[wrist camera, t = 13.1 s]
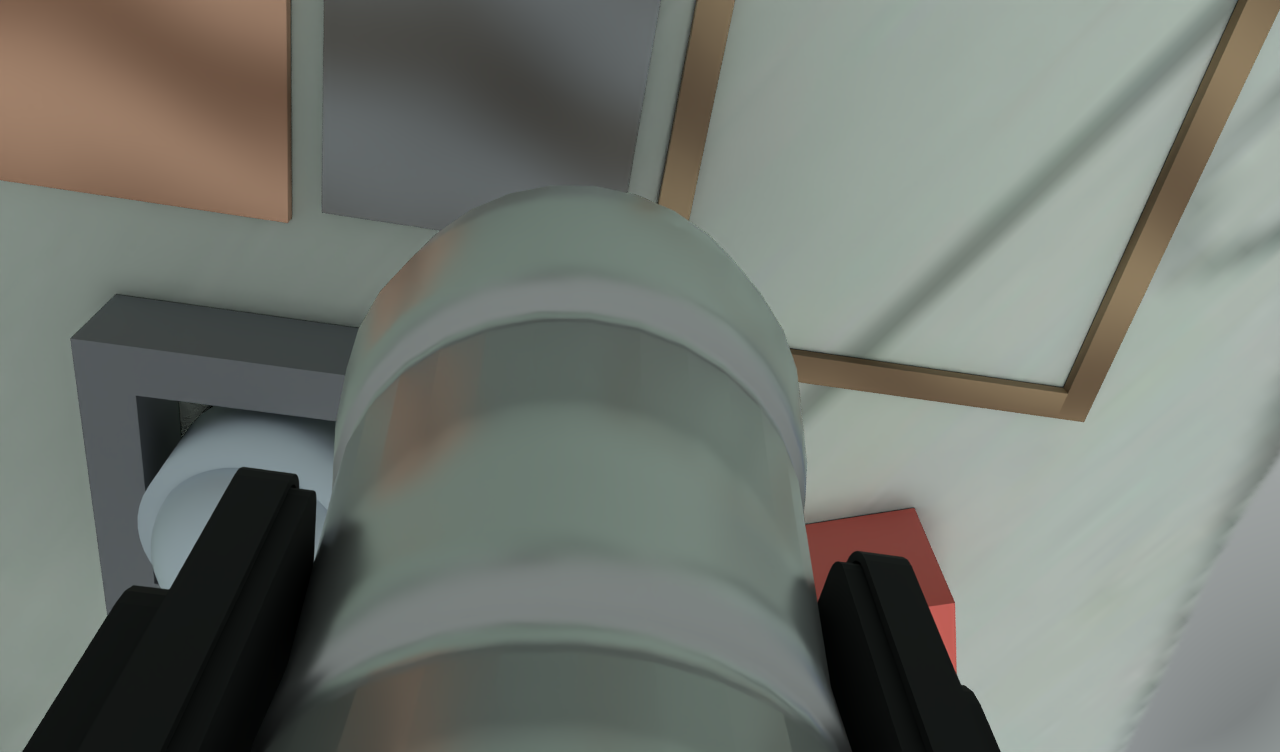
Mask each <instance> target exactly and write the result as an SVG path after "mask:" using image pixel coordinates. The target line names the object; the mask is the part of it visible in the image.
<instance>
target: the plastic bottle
mask: <svg viewBox="0 0 1280 752" xmlns="http://www.w3.org/2000/svg"><path fill="white" fill-rule="evenodd" d="M806 472H807V459H806V449H805V439H804V429H803V419H802V409H801V401H800V392H799V383H798V375H797V368H796V365H795V362H794V359H793V357H792V354H791V351H790V348H789V345H788V342H787V339H786V337H785V334H784V331H783V329H782V327H781V325H780V324H779V322H778V321H777V319H776V317H775V316H774V314H773V313H772V311H771V309H770V308H769V306H768V305H767V303H766V301H765V300H764V298H763V297H762V295H761V293H760V292H759V291H758V289H757V288H756V287H755V286H754V285H753V283H752V282H751V281H750V280H749V278H748V277H747V276H746V275H745V273H744V272H743V271H742V270H741V269H740V267H739V266H738V265H737V264H736V262H735V261H734V260H733V259H732V258H731V257H730V256H729V255H728V254H727V253H726V252H725V251H724V250H723V249H722V248H721V247H720V246H719V245H718V244H717V243H716V242H715V241H714V240H713V239H712V238H711V237H710V235H709V234H707V233H706V232H704V231H703V230H701V229H700V228H699V227H697V226H696V225H694V224H693V223H691V222H690V221H688V220H687V219H685V218H684V217H682V216H681V215H680V214H678V213H677V212H675V211H673V210H671V209H669V208H666V207H664V206H662V205H659V204H657V203H654V202H652V201H650V200H647V199H645V198H643V197H640V196H638V195H636V194H631V193H626V192H621V191H616V190H611V189H606V188H602V187H597V186H546V187H541V188H536V189H531V190H526V191H520V192H515V193H510V194H507V195H505V196H502V197H500V198H498V199H495V200H493V201H490V202H488V203H486V204H483V205H481V206H478V207H476V208H474V209H471V210H470V211H468V212H467V213H465V214H464V215H462V216H461V217H460V218H458V219H457V220H455V221H454V222H452V223H451V224H449V225H448V226H447V227H445V228H444V229H442V230H441V231H439V232H438V233H437V234H436V235H435V236H434V237H433V238H432V239H431V240H429V241H428V242H427V243H426V244H425V245H424V246H423V247H422V248H421V249H420V250H419V251H418V252H417V253H416V254H415V255H414V256H413V257H412V258H411V259H410V260H409V261H408V262H407V263H406V264H405V265H404V266H403V267H402V269H401V270H400V271H399V272H398V273H397V274H396V275H395V276H394V277H393V278H392V279H391V280H390V281H389V283H388V284H387V285H386V286H385V287H384V288H383V289H382V290H381V291H380V293H379V294H378V296H377V298H376V300H375V301H374V303H373V305H372V306H371V308H370V310H369V312H368V313H367V315H366V317H365V319H364V320H363V322H362V324H361V326H360V327H359V329H358V332H357V336H356V339H355V342H354V345H353V349H352V352H351V355H350V359H349V362H348V365H347V369H346V374H345V379H344V384H343V389H342V394H341V399H340V404H339V409H338V414H337V419H336V424H335V441H334V459H333V479H332V494H331V498H330V502H329V506H328V510H327V513H326V517H325V521H324V525H323V529H322V533H321V537H320V541H319V544H318V548H317V552H316V556H315V560H314V564H313V568H312V571H311V575H310V579H309V583H308V587H307V591H306V595H305V599H304V602H303V606H302V610H301V614H300V618H299V622H298V626H297V629H296V633H295V637H294V641H293V645H292V649H291V653H290V656H289V660H288V664H287V668H286V670H285V672H284V674H283V677H282V679H281V681H280V683H279V686H278V688H277V690H276V692H275V695H274V697H273V699H272V701H271V704H270V706H269V708H268V710H267V713H266V715H265V717H264V719H263V722H262V724H261V726H260V728H259V731H258V733H257V735H256V737H255V740H254V742H253V746H252V749H251V752H852V750H851V747H850V744H849V741H848V738H847V734H846V731H845V728H844V725H843V722H842V719H841V716H840V713H839V710H838V707H837V704H836V701H835V698H834V695H833V692H832V689H831V685H830V678H829V672H828V666H827V660H826V653H825V647H824V641H823V634H822V628H821V622H820V615H819V609H818V603H817V596H816V590H815V584H814V577H813V571H812V565H811V558H810V552H809V546H808V539H807V533H806V527H805V520H804V506H805V495H806Z"/></svg>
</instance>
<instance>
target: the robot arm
mask: <svg viewBox="0 0 1280 752" xmlns="http://www.w3.org/2000/svg"><path fill="white" fill-rule="evenodd" d="M316 504H317V496H316V492H315V491H314V490H307V489H299V478H298V475H296V474H293V473H286V472H279V471H271V470H264V469H257V468H249V467H241V468H239V469H238V470H237V472H236V473H235V474H234V476H233V478H232V480H231V482H230V483H229V485H228V487H227V489H226V490H225V492H224V494H223V496H222V497H221V499H220V501H219V503H218V504H217V506H216V508H215V510H214V512H213V513H212V515H211V517H210V519H209V520H208V522H207V524H206V526H205V527H204V529H203V531H202V533H201V534H200V536H199V538H198V540H197V542H196V543H195V545H194V547H193V549H192V550H191V552H190V554H189V556H188V557H187V559H186V561H185V563H184V564H183V566H182V568H181V570H180V571H179V573H178V575H177V577H176V579H175V580H174V582H173V584H172V586H171V587H170V589H162V588H153V587H145V586H137V585H133V586H131V587H130V588H128V589H127V590H125V591H124V592H123V594H122V595H121V596H120V598H119V599H118V600H117V602H116V603H115V605H114V606H113V608H112V609H111V611H110V613H109V614H108V616H107V617H106V619H105V621H104V622H103V624H102V625H101V627H100V629H99V630H98V632H97V633H96V635H95V636H94V638H93V640H92V641H91V643H90V644H89V646H88V648H87V649H86V651H85V652H84V654H83V656H82V657H81V659H80V660H79V662H78V664H77V665H76V667H75V668H74V670H73V672H72V673H71V675H70V676H69V678H68V680H67V681H66V683H65V684H64V686H63V688H62V689H61V691H60V692H59V694H58V696H57V697H56V699H55V700H54V702H53V704H52V705H51V707H50V708H49V710H48V712H47V713H46V715H45V716H44V718H43V720H42V721H41V723H40V724H39V726H38V728H37V729H36V731H35V732H34V734H33V736H32V737H31V739H30V740H29V742H28V744H27V745H26V747H25V748H24V750H23V751H22V752H251V749H252V746H253V742H254V740H255V737H256V735H257V733H258V731H259V728H260V726H261V724H262V722H263V719H264V717H265V715H266V713H267V710H268V708H269V706H270V704H271V701H272V699H273V697H274V695H275V692H276V690H277V688H278V686H279V683H280V681H281V679H282V677H283V674H284V672H285V670H286V668H287V664H288V660H289V656H290V653H291V649H292V645H293V641H294V637H295V633H296V629H297V626H298V622H299V618H300V614H301V610H302V606H303V602H304V599H305V595H306V591H307V587H308V583H309V579H310V575H311V571H312V568H313V564H314V550H315V527H316ZM818 609H819V615H820V622H821V628H822V634H823V641H824V647H825V653H826V660H827V666H828V672H829V678H830V685H831V689H832V692H833V695H834V698H835V701H836V704H837V707H838V710H839V713H840V716H841V719H842V722H843V725H844V728H845V731H846V734H847V738H848V741H849V744H850V747H851V750H852V752H1000V749H999V747H998V745H997V742H996V740H995V737H994V735H993V733H992V730H991V728H990V726H989V723H988V721H987V719H986V716H985V714H984V712H983V709H982V707H981V705H980V703H979V701H978V700H977V698H976V696H975V694H974V693H973V692H972V691H971V690H970V689H969V688H967V687H966V686H965V685H961V684H960V681H959V679H958V676H957V674H956V672H955V669H954V667H953V664H952V662H951V660H950V657H949V655H948V652H947V650H946V648H945V645H944V643H943V640H942V638H941V635H940V633H939V631H938V628H937V626H936V623H935V621H934V619H933V616H932V614H931V611H930V609H929V606H928V604H927V602H926V599H925V597H924V594H923V592H922V590H921V587H920V585H919V582H918V580H917V577H916V575H915V573H914V570H913V568H912V566H911V564H910V562H909V561H908V560H907V559H906V558H904V557H900V556H893V555H885V554H878V553H871V552H863V551H855V552H853V553H852V554H851V555H850V556H849V558H848V560H847V562H840V561H837V562H835V563H834V564H833V565H832V567H831V569H830V571H829V573H828V576H827V579H826V581H825V584H824V587H823V589H822V592H821V595H820V597H819V600H818Z"/></svg>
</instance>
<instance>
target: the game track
mask: <svg viewBox="0 0 1280 752" xmlns="http://www.w3.org/2000/svg"><path fill="white" fill-rule="evenodd" d="M660 2H661V0H324V49H323V143H322V213H328V214H334V215H341V216H347V217H354V218H361V219H367V220H374V221H381V222H387V223H394V224H401V225H407V226H414V227H420V228H427V229H434V230H440V231H441V230H442V229H444V228H445V227H447V226H448V225H449V224H451V223H452V222H454V221H455V220H457V219H458V218H460V217H461V216H462V215H464V214H465V213H467V212H468V211H470V210H471V209H474V208H476V207H478V206H481V205H483V204H486V203H488V202H490V201H493V200H495V199H498V198H500V197H502V196H505V195H507V194H510V193H515V192H520V191H526V190H531V189H536V188H541V187H546V186H597V187H602V188H606V189H611V190H616V191H621V192H626V193H627V192H628V187H629V181H630V175H631V169H632V164H633V158H634V152H635V146H636V141H637V135H638V129H639V123H640V117H641V112H642V106H643V100H644V94H645V89H646V83H647V77H648V71H649V65H650V60H651V54H652V48H653V42H654V37H655V31H656V25H657V19H658V13H659V8H660ZM734 3H735V0H696V5H695V10H694V15H693V21H692V26H691V31H690V36H689V42H688V47H687V52H686V57H685V63H684V68H683V73H682V78H681V84H680V89H679V94H678V99H677V105H676V110H675V115H674V120H673V126H672V131H671V136H670V141H669V147H668V152H667V157H666V162H665V168H664V173H663V178H662V184H661V189H660V194H659V199H658V204H659V205H662V206H664V207H666V208H669V209H671V210H673V211H675V212H677V213H678V214H680V215H681V216H682V217H684V218H685V219H687V220H688V221H689V218H690V213H691V208H692V203H693V199H694V194H695V189H696V184H697V180H698V175H699V170H700V165H701V160H702V156H703V151H704V146H705V141H706V136H707V132H708V127H709V122H710V117H711V113H712V108H713V103H714V98H715V93H716V89H717V84H718V79H719V74H720V69H721V65H722V60H723V55H724V50H725V46H726V41H727V36H728V31H729V26H730V22H731V17H732V12H733V7H734ZM1279 9H1280V0H1238V3H1237V5H1236V7H1235V9H1234V11H1233V14H1232V16H1231V18H1230V20H1229V23H1228V25H1227V27H1226V29H1225V31H1224V34H1223V36H1222V38H1221V40H1220V42H1219V45H1218V47H1217V49H1216V51H1215V53H1214V56H1213V58H1212V60H1211V62H1210V65H1209V67H1208V69H1207V71H1206V73H1205V76H1204V78H1203V80H1202V82H1201V84H1200V87H1199V89H1198V91H1197V93H1196V96H1195V98H1194V100H1193V102H1192V104H1191V107H1190V109H1189V111H1188V113H1187V115H1186V118H1185V120H1184V122H1183V124H1182V126H1181V129H1180V131H1179V133H1178V135H1177V138H1176V140H1175V142H1174V144H1173V146H1172V149H1171V151H1170V153H1169V155H1168V157H1167V160H1166V162H1165V164H1164V166H1163V169H1162V171H1161V173H1160V175H1159V177H1158V180H1157V182H1156V184H1155V186H1154V188H1153V191H1152V193H1151V195H1150V197H1149V199H1148V202H1147V204H1146V206H1145V208H1144V211H1143V213H1142V215H1141V217H1140V219H1139V222H1138V224H1137V226H1136V228H1135V230H1134V233H1133V235H1132V237H1131V239H1130V242H1129V244H1128V246H1127V248H1126V250H1125V253H1124V255H1123V257H1122V259H1121V261H1120V264H1119V266H1118V268H1117V270H1116V272H1115V275H1114V277H1113V279H1112V281H1111V284H1110V286H1109V288H1108V290H1107V292H1106V295H1105V297H1104V299H1103V301H1102V303H1101V306H1100V308H1099V310H1098V312H1097V315H1096V317H1095V319H1094V321H1093V323H1092V326H1091V328H1090V330H1089V332H1088V334H1087V337H1086V339H1085V341H1084V343H1083V345H1082V348H1081V350H1080V352H1079V354H1078V357H1077V359H1076V361H1075V363H1074V365H1073V368H1072V370H1071V372H1070V374H1069V376H1068V379H1067V381H1066V383H1065V385H1064V388H1061V387H1054V386H1047V385H1040V384H1033V383H1026V382H1019V381H1012V380H1005V379H998V378H991V377H984V376H977V375H970V374H963V373H956V372H949V371H942V370H935V369H928V368H921V367H914V366H908V365H901V364H894V363H887V362H880V361H873V360H866V359H859V358H852V357H845V356H838V355H831V354H824V353H817V352H810V351H803V350H796V349H790V351H791V354H792V357H793V359H794V362H795V365H796V368H797V375H798V382H801V383H808V384H815V385H823V386H830V387H837V388H844V389H851V390H858V391H865V392H873V393H880V394H887V395H894V396H901V397H908V398H915V399H923V400H930V401H937V402H944V403H951V404H958V405H965V406H973V407H980V408H987V409H994V410H1001V411H1008V412H1015V413H1023V414H1030V415H1037V416H1044V417H1051V418H1058V419H1065V420H1073V421H1080V422H1084V421H1085V419H1086V417H1087V415H1088V412H1089V410H1090V408H1091V406H1092V404H1093V402H1094V400H1095V398H1096V396H1097V393H1098V391H1099V389H1100V387H1101V385H1102V383H1103V381H1104V379H1105V377H1106V374H1107V372H1108V370H1109V368H1110V366H1111V364H1112V362H1113V360H1114V358H1115V356H1116V353H1117V351H1118V349H1119V347H1120V345H1121V343H1122V341H1123V339H1124V337H1125V334H1126V332H1127V330H1128V328H1129V326H1130V324H1131V322H1132V320H1133V318H1134V315H1135V313H1136V311H1137V309H1138V307H1139V305H1140V303H1141V301H1142V299H1143V296H1144V294H1145V292H1146V290H1147V288H1148V286H1149V284H1150V282H1151V280H1152V277H1153V275H1154V273H1155V271H1156V269H1157V267H1158V265H1159V263H1160V261H1161V258H1162V256H1163V254H1164V252H1165V250H1166V248H1167V246H1168V244H1169V242H1170V239H1171V237H1172V235H1173V233H1174V231H1175V229H1176V227H1177V225H1178V223H1179V220H1180V218H1181V216H1182V214H1183V212H1184V210H1185V208H1186V206H1187V204H1188V201H1189V199H1190V197H1191V195H1192V193H1193V191H1194V189H1195V187H1196V185H1197V182H1198V180H1199V178H1200V176H1201V174H1202V172H1203V170H1204V168H1205V166H1206V163H1207V161H1208V159H1209V157H1210V155H1211V153H1212V151H1213V149H1214V147H1215V144H1216V142H1217V140H1218V138H1219V136H1220V134H1221V132H1222V130H1223V128H1224V125H1225V123H1226V121H1227V119H1228V117H1229V115H1230V113H1231V111H1232V109H1233V107H1234V104H1235V102H1236V100H1237V98H1238V96H1239V94H1240V92H1241V90H1242V88H1243V85H1244V83H1245V81H1246V79H1247V77H1248V75H1249V73H1250V71H1251V69H1252V66H1253V64H1254V62H1255V60H1256V58H1257V56H1258V54H1259V52H1260V50H1261V47H1262V45H1263V43H1264V41H1265V39H1266V37H1267V35H1268V33H1269V31H1270V28H1271V26H1272V24H1273V22H1274V20H1275V18H1276V16H1277V14H1278V12H1279ZM0 180H3V181H10V182H17V183H23V184H30V185H37V186H43V187H50V188H57V189H63V190H70V191H77V192H84V193H90V194H97V195H104V196H110V197H117V198H124V199H130V200H137V201H144V202H151V203H157V204H164V205H171V206H177V207H184V208H191V209H198V210H204V211H211V212H218V213H224V214H231V215H238V216H244V217H251V218H258V219H265V220H271V221H278V222H285V223H288V222H289V221H290V220H291V219H292V171H291V0H0Z"/></svg>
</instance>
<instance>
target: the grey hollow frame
mask: <svg viewBox="0 0 1280 752" xmlns="http://www.w3.org/2000/svg"><path fill="white" fill-rule="evenodd" d="M358 329H359V328H354V327H347V326H339V325H332V324H325V323H318V322H311V321H304V320H296V319H289V318H282V317H275V316H268V315H260V314H253V313H246V312H239V311H232V310H225V309H217V308H210V307H203V306H196V305H189V304H181V303H174V302H167V301H160V300H153V299H146V298H138V297H131V296H124V295H117V294H116V295H115V296H114V297H113V298H112V299H110V300H109V301H108V302H107V303H106V304H105V305H104V306H103V307H102V308H101V309H100V310H99V311H98V312H97V313H96V314H95V315H94V316H93V317H92V318H91V319H90V320H89V321H88V322H87V323H86V324H85V325H84V326H83V327H82V328H81V329H80V330H79V331H78V332H77V333H76V334H74V335H73V336H72V337H71V338H70V340H71V347H72V355H73V362H74V370H75V377H76V385H77V392H78V399H79V407H80V414H81V422H82V429H83V437H84V444H85V452H86V459H87V467H88V474H89V482H90V489H91V497H92V504H93V512H94V519H95V527H96V534H97V542H98V549H99V557H100V564H101V572H102V579H103V587H104V594H105V602H106V609H107V615H108V614H109V613H110V611H111V609H112V608H113V606H114V605H115V603H116V602H117V600H118V599H119V598H120V596H121V595H122V594H123V592H124V591H125V590H127V589H128V588H130V587H131V586H133V585H137V586H145V587H153V588H161V587H160V586H159V583H158V581H157V578H156V576H155V573H154V570H153V565H152V564H151V562H150V561H149V559H148V557H147V555H146V553H145V551H144V549H143V546H142V544H141V541H140V537H139V532H138V511H139V506H140V503H141V500H142V497H143V495H144V493H145V492H146V490H147V488H148V486H149V485H150V483H151V482H152V481H153V479H154V478H155V476H156V475H157V473H158V472H159V470H160V469H161V468H162V466H163V465H164V463H165V462H166V460H167V459H168V457H169V456H170V454H171V453H172V452H173V450H174V449H175V447H176V446H177V444H178V443H179V441H180V440H181V430H180V416H179V403H178V401H182V402H190V403H198V404H206V405H213V406H221V407H229V408H237V409H244V410H252V411H260V412H268V413H275V414H283V415H291V416H299V417H306V418H314V419H322V420H329V421H336V419H337V414H338V409H339V404H340V399H341V394H342V389H343V384H344V379H345V374H346V369H347V365H348V362H349V359H350V355H351V352H352V349H353V345H354V342H355V339H356V336H357V332H358Z"/></svg>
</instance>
